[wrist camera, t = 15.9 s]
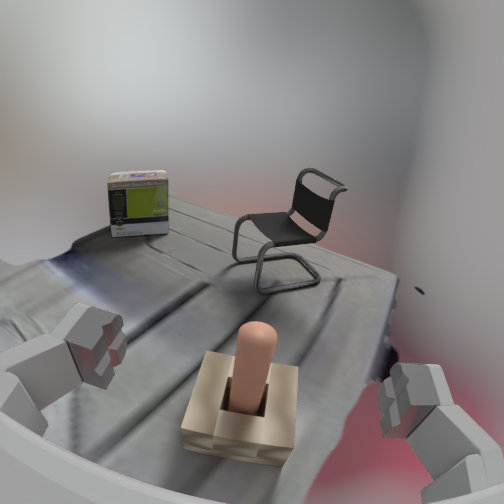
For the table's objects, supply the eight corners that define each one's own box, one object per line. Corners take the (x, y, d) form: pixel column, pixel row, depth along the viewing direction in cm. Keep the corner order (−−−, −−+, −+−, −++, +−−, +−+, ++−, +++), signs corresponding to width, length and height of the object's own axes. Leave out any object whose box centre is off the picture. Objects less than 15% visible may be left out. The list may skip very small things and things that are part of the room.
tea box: (165, 218, 86) (166, 168, 79) (168, 235, 78) (169, 179, 71) (113, 221, 81) (110, 170, 74) (110, 238, 73) (106, 181, 65)
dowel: (224, 423, 34) (234, 344, 27) (230, 401, 37) (242, 318, 30) (253, 429, 34) (275, 352, 26) (257, 406, 37) (279, 325, 29)
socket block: (183, 448, 31) (180, 427, 28) (205, 377, 42) (206, 350, 39) (282, 466, 31) (293, 447, 28) (288, 392, 41) (298, 366, 38)
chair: (326, 283, 67) (351, 187, 56) (253, 297, 60) (270, 186, 49) (296, 254, 77) (314, 167, 66) (230, 262, 70) (240, 165, 59)
